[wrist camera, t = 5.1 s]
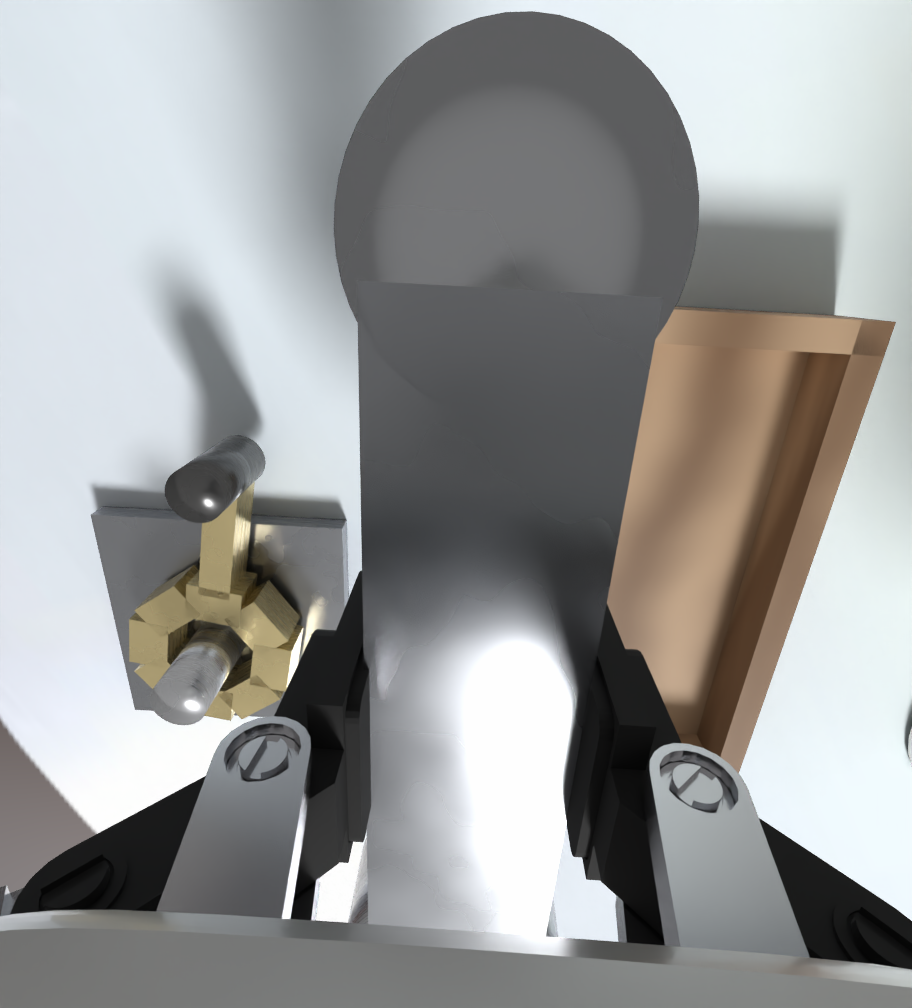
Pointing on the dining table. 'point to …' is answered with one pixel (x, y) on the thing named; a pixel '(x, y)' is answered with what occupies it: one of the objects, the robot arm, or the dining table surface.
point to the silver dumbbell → (498, 436)
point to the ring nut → (220, 585)
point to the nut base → (212, 647)
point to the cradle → (734, 501)
